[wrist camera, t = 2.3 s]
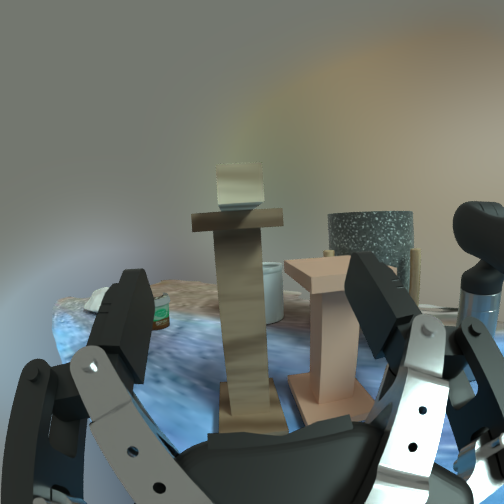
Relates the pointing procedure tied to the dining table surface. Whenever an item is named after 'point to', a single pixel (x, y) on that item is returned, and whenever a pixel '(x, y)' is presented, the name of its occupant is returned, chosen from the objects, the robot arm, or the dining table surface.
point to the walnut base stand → (243, 320)
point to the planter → (379, 242)
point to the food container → (161, 312)
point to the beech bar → (239, 186)
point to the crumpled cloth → (95, 300)
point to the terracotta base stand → (329, 344)
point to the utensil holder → (273, 291)
